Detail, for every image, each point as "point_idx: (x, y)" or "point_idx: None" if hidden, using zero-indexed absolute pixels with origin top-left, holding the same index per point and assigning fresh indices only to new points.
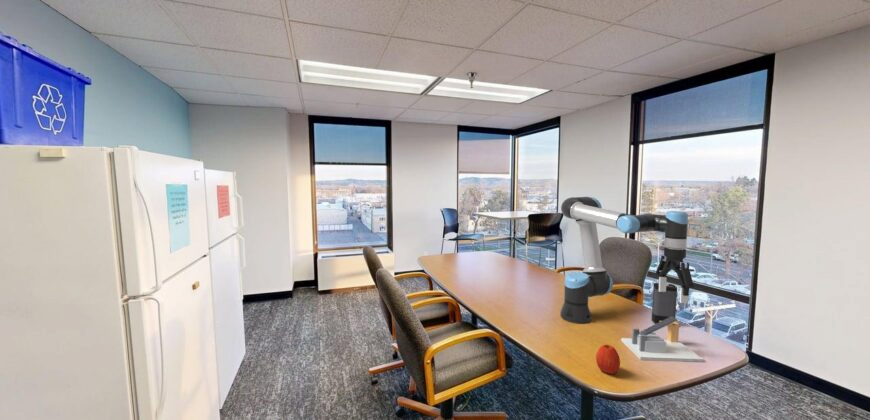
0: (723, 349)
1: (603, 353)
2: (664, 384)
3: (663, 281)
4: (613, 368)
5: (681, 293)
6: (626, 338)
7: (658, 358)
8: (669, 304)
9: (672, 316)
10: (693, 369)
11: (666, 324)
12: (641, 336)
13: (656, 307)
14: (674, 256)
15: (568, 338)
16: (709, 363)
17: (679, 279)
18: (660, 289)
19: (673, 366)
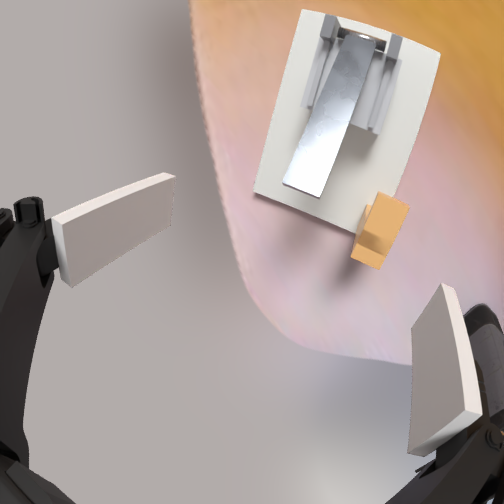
0: (295, 314)
1: None
2: (193, 2)
3: (432, 390)
4: None
5: (102, 196)
6: (434, 68)
7: (288, 59)
8: None
9: (313, 192)
10: (230, 123)
11: (306, 129)
12: (326, 15)
13: (493, 344)
14: None
15: None
16: (247, 200)
17: (9, 281)
18: (441, 302)
19: (253, 79)
